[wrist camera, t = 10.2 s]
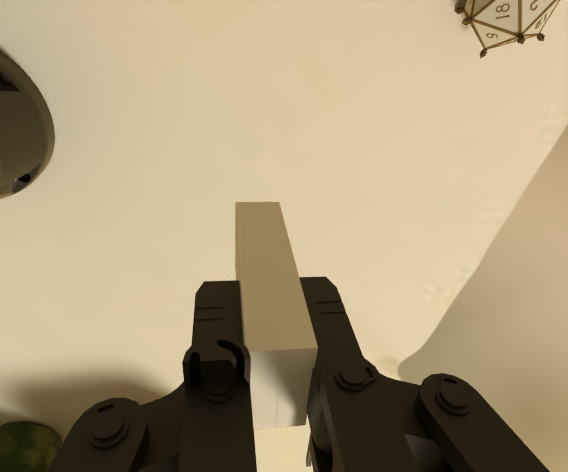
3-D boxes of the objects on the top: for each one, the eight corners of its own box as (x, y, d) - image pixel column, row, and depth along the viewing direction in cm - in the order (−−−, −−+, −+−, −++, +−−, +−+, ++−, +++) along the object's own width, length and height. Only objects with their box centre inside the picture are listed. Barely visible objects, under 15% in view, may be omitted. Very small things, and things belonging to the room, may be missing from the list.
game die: (448, -9, 41) (453, -65, 31) (545, -42, 38) (581, -115, 28) (461, 79, 41) (469, 49, 32) (557, 54, 38) (596, 13, 29)
